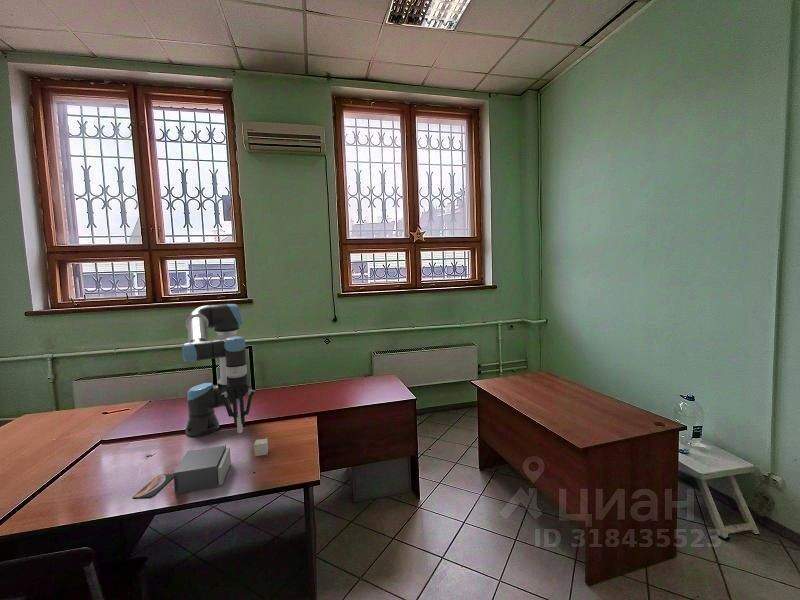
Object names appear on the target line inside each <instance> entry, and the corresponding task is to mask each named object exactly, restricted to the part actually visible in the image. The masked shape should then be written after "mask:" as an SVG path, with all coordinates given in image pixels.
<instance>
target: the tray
mask: <svg viewBox="0 0 800 600" xmlns="http://www.w3.org/2000/svg"><path fill="white" fill-rule="evenodd" d="M219 463H220V464H219V466H218V482H219V485H218V486H223V484H224V482H225V478H226V476H227V474H228V471H229V468H230V466H231V463H232V460H231V447H226V450H225V453H224V455H223V457H222V460H220V462H219Z"/></svg>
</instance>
